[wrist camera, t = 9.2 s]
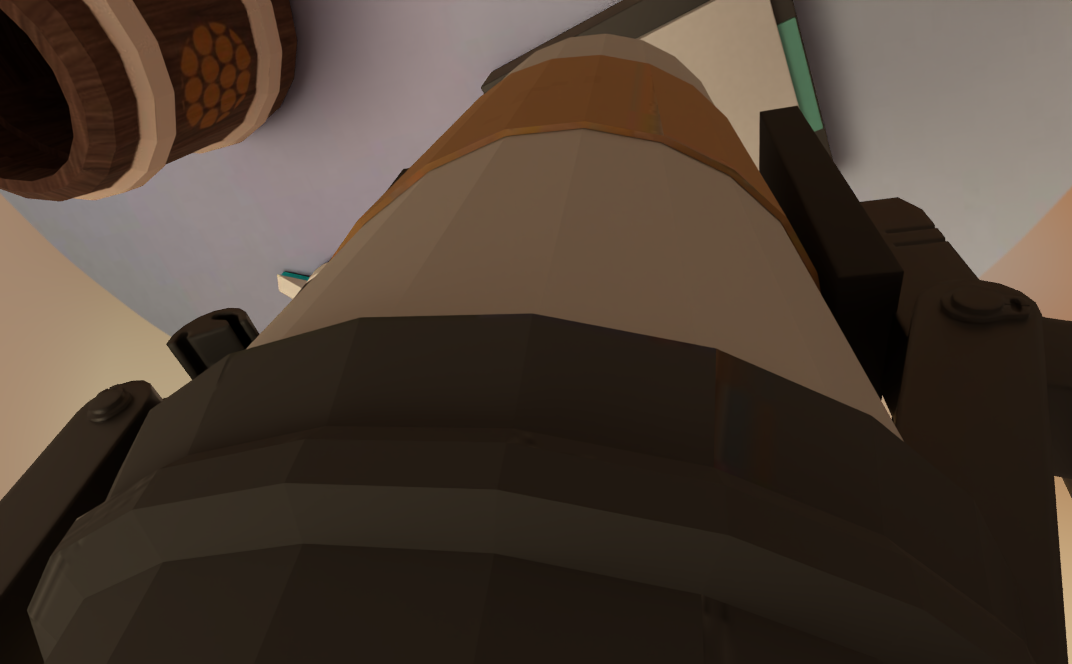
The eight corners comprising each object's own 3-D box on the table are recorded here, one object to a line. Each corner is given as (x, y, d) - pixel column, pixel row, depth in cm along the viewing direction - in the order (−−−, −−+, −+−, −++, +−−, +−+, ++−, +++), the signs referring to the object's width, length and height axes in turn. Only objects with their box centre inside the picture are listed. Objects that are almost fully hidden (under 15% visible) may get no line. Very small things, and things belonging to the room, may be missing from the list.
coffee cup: (633, 331, 19) (624, 1044, 8) (399, 198, 18) (-77, 870, 6) (837, 111, 14) (1673, 1152, 3) (544, -106, 13) (-599, 294, 1)
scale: (764, -78, 30) (777, -71, 27) (827, 168, 37) (843, 194, 34) (490, 72, 36) (477, 90, 33) (589, 258, 43) (585, 286, 40)
